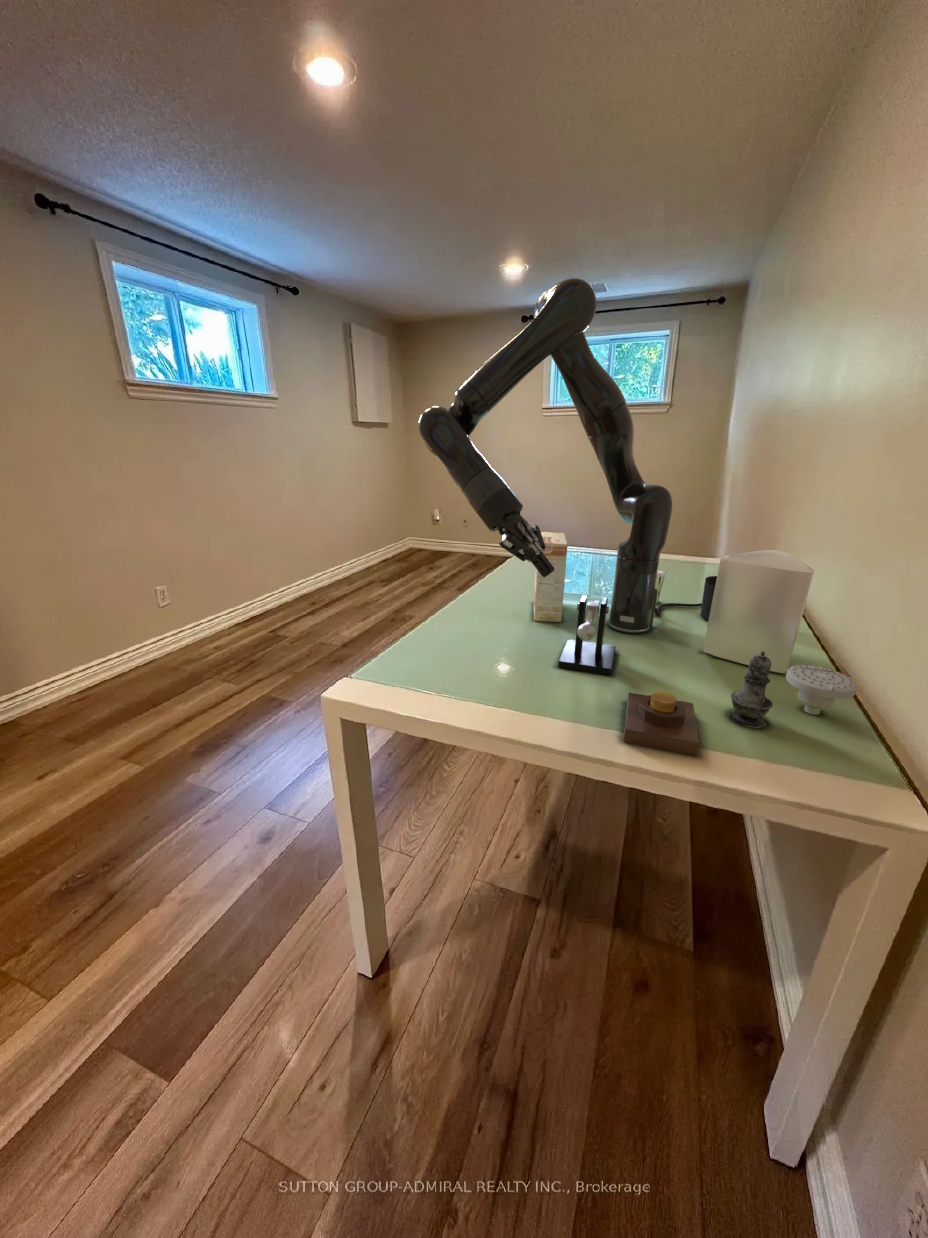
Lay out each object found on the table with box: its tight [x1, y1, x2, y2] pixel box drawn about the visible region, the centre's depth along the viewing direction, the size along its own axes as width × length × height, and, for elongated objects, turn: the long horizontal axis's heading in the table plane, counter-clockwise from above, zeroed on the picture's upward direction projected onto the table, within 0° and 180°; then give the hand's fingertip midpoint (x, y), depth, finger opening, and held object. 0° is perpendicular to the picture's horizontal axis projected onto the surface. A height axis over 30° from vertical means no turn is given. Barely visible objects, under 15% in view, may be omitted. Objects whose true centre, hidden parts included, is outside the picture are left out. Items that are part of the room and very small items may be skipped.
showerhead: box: [785, 664, 858, 716], centre depth 80 cm, size 9×7×10 cm
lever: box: [576, 599, 601, 642], centre depth 92 cm, size 13×3×3 cm, turn 160°
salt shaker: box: [728, 651, 774, 729], centre depth 77 cm, size 6×6×12 cm
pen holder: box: [700, 575, 717, 622], centre depth 122 cm, size 9×9×10 cm
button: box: [650, 691, 677, 713], centre depth 75 cm, size 4×4×2 cm
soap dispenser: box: [702, 549, 815, 675], centre depth 99 cm, size 15×14×22 cm
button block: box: [622, 692, 700, 757], centre depth 76 cm, size 12×10×4 cm
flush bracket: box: [557, 595, 616, 676], centre depth 98 cm, size 12×10×13 cm
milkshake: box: [655, 567, 670, 605], centre depth 134 cm, size 4×5×10 cm
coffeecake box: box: [533, 531, 568, 623], centre depth 124 cm, size 15×7×20 cm, turn 172°
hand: (549, 573), depth 88 cm, fingers closed
